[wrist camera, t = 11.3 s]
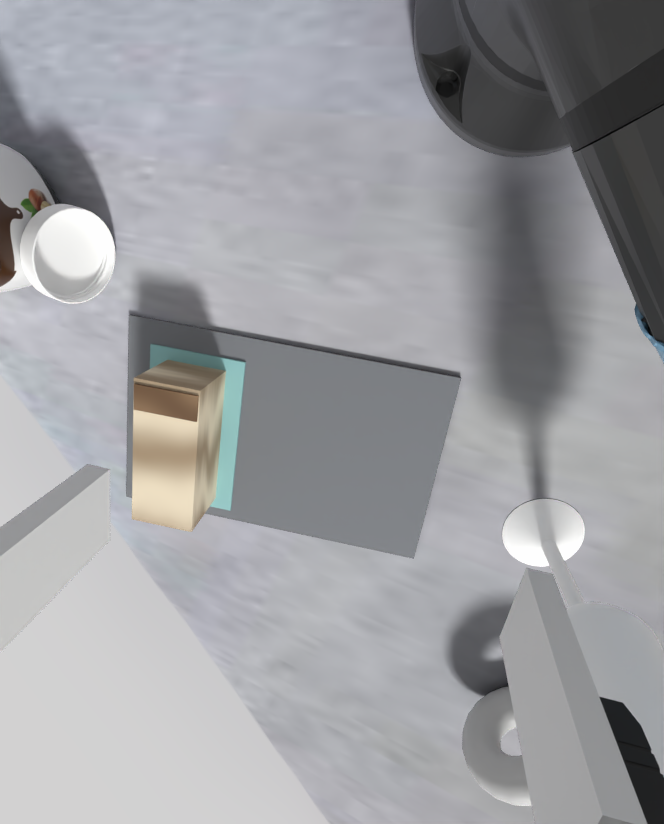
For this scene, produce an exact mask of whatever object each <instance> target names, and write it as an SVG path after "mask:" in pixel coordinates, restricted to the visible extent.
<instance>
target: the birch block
mask: <svg viewBox="0 0 664 824" xmlns="http://www.w3.org/2000/svg"><path fill="white" fill-rule="evenodd" d="M225 378H226V371H224V370H219V369H214V368H208V367H203V366H198V365H193V364H187V363H182V362H177V361H172V360H166V361H164V362H162V363H160V364H159V365H157V366H155V367H153V368H151V369H149V370H147V371H145V372H144V373H142V374H140V375H138V376H136V377H134V399H133V472H132V519H133V520H138V521H143V522H147V523H152V524H157V525H161V526H166V527H171V528H175V529H180V530H185V531H189V532H192V531H193V529H194V528H195V526H196V525H197V524H198V522H199V521H200V519H201V518H202V516H203V515H204V514H205V512H206V511H207V509H208V508H209V507H210V505H211V504H212V502H213V501H214V499H215V498H216V488H217V475H218V463H219V451H220V439H221V427H222V414H223V402H224V390H225Z"/></svg>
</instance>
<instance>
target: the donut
mask: <svg viewBox="0 0 664 824" xmlns="http://www.w3.org/2000/svg"><path fill="white" fill-rule="evenodd" d="M514 728H517V727H516V722H515V717H514V711H513V706H512V701H511V696H510V691H509V687H503V688H500V689H498V690H495V691H492V692H490V693H488V694H487V695H486V696H484V697H483V698H482V699H480V700H479V701H478V702H477V703H476V704H475V706H474V707H473V708H472V710H471V711H470V712H469V714H468V716H467V719H466V722H465V725H464V728H463V738H462V749H463V753H464V756H465V760H466V763H467V766H468V769H469V771H470V772H471V774H472V775H473V777H474V778H475V780H476V781H477V783H478V784H479V785H480V786H481V787H482V788H483V789H484V790H485V791H487V792H488V793H489V794H491V795H492V796H493V797H494V798H496V799H498V800H501V801H504V802H507V803H510V804H512V805H516V806H532V805H531V800H530V795H529V789H528V784H527V779H526V774H525V769H524V763H523V758H522V755H520V756H510V755H507V754H505V753H504V752H502V750H501V748H500V742H501V739H502V738H503V736H504V735H505V734H506V733H507V732H508V731H510V730H511V729H514Z"/></svg>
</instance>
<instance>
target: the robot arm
mask: <svg viewBox="0 0 664 824" xmlns="http://www.w3.org/2000/svg"><path fill="white" fill-rule="evenodd" d="M414 51H415V59H416V64H417V69H418V73H419V77H420V80H421V83H422V86H423V88H424V91H425V93H426V95H427V97H428V99H429V101H430V103H431V105H432V106H433V108H434V110H435V111H436V113H437V114H438V115H439V117H440V118H441V119H442V120H443V122H444V123H445V124H446V125H447V126H448V127H449V128H450V129H451V130H452V131H453V132H454V133H455V134H457V135H458V136H459V137H461V138H462V139H463V140H465V141H466V142H468V143H470V144H471V145H473V146H475V147H477V148H479V149H482V150H485V151H487V152H490V153H494V154H498V155H503V156H511V157H530V156H538V155H544V154H548V153H552V152H555V151H559V150H561V149H564V148H567V147H569V146H571V147H572V151H574V152H572V153H573V155H574V157H575V160H576V162H577V165H578V167H579V169H580V172H581V174H582V176H583V179H584V181H585V183H586V186H587V188H588V191H589V193H590V195H591V198H592V200H593V202H594V205H595V207H596V209H597V212H598V214H599V217H600V219H601V221H602V224H603V226H604V228H605V231H606V233H607V235H608V238H609V240H610V243H611V245H612V247H613V250H614V252H615V254H616V257H617V259H618V261H619V264H620V266H621V268H622V271H623V273H624V276H625V278H626V280H627V283H628V285H629V287H630V290H631V292H632V294H633V297H634V299H635V302H636V306H635V315H636V318H637V321H638V324H639V326H640V329H641V330H642V332H643V333H644V335H645V336H646V337H647V338H648V339H649V340H650V341H651V343H652V344H653V346H655V347H656V349H657V351H658V353H659V355H660V357H661V359H662V361H663V363H664V0H416V1H415V13H414ZM109 541H110V469H107V468H102V467H98V466H94V465H90V464H87V465H86V466H84V467H83V468H81V469H80V470H79V471H77V472H76V473H75V474H73V475H72V476H71V477H69V478H68V479H66V480H65V481H64V482H63V483H61V484H59V485H58V486H57V487H55V488H54V489H53V490H51V491H50V492H48V493H47V494H46V495H44V496H43V497H42V498H40V499H39V500H37V501H36V502H35V503H33V504H32V505H31V506H29V507H28V508H27V509H25V510H24V511H22V512H21V513H19V514H18V515H17V516H15V517H14V518H13V519H11V520H10V521H8V522H7V523H6V524H4V525H3V526H2V527H0V653H1V652H2V651H3V650H4V649H5V648H6V647H7V646H8V644H10V643H11V641H12V640H13V639H14V638H15V637H16V636H17V635H18V634H19V633H20V632H21V631H22V630H23V629H24V628H25V627H26V626H27V625H28V624H29V623H30V622H31V621H32V620H33V619H34V618H35V617H36V616H37V615H38V614H39V613H40V612H41V611H42V610H43V609H44V608H45V607H46V605H48V604H49V602H51V600H52V599H53V598H54V597H55V596H56V595H57V594H58V593H59V592H60V591H61V590H62V589H63V588H64V587H65V586H66V585H67V584H68V583H69V582H70V581H71V580H72V579H73V578H74V577H75V576H76V575H77V574H78V573H79V572H80V571H81V570H82V569H83V568H84V567H85V566H86V565H87V564H88V563H89V562H90V560H91V559H92V558H93V557H94V556H95V555H96V554H97V553H98V552H99V551H100V550H101V549H102V548H103V547H104V546H105V545H106V544H107V543H108V542H109ZM499 638H500V644H501V649H502V654H503V659H504V664H505V670H506V675H507V680H508V685H509V691H510V696H511V701H512V706H513V711H514V717H515V722H516V727H517V732H518V737H519V743H520V748H521V753H522V758H523V763H524V769H525V774H526V779H527V784H528V789H529V795H530V800H531V805H532V810H533V815H534V821H535V824H664V777H663V774H660V768H659V765H658V763H657V761H656V758H655V756H654V754H652V753H651V747H650V745H649V743H648V740H647V738H646V736H645V733H644V731H643V729H642V727H641V725H640V724H639V722H638V721H637V720H636V719H635V717H634V716H633V715H632V714H631V712H630V711H629V710H628V708H627V707H626V706H625V705H624V703H622V702H618V701H615V700H611V699H607V698H603V697H599V695H598V692H597V690H596V687H595V684H594V682H593V679H592V676H591V674H590V671H589V669H588V666H587V663H586V661H585V658H584V655H583V653H582V650H581V647H580V645H579V642H578V640H577V637H576V634H575V632H574V629H573V626H572V624H571V621H570V618H569V616H568V613H567V610H566V608H565V605H564V603H563V600H562V597H561V595H560V592H559V589H558V587H557V584H556V581H555V579H554V576H553V574H550V573H546V572H542V571H538V570H533V569H529V568H526V570H525V572H524V575H523V578H522V580H521V583H520V585H519V588H518V591H517V593H516V596H515V598H514V601H513V603H512V606H511V609H510V611H509V614H508V616H507V619H506V622H505V624H504V627H503V629H502V632H501V634H500V637H499Z"/></svg>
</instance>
